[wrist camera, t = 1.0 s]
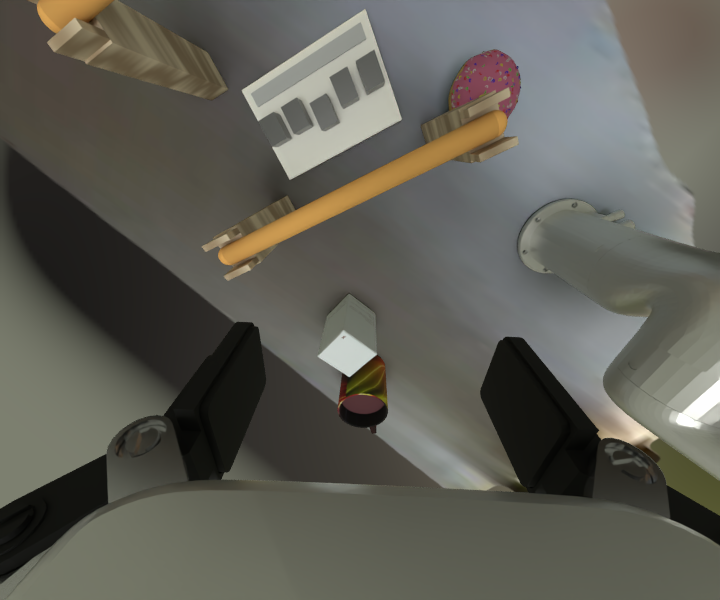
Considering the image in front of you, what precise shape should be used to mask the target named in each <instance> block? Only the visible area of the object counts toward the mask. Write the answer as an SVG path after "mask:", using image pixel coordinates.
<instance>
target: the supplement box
mask: <svg viewBox="0 0 720 600" xmlns="http://www.w3.org/2000/svg"><path fill="white" fill-rule="evenodd" d="M376 355H377V344H376V319H375V313H374V312H373V311H371V310H370V309H369V308H368V307H366V306H365V305H364V304H362V303H361V302H360V301H358V300H357V299H356V298H354V297H353V296H352V295H350V294H348V295H347V296H346V297H345V298H344V299H343V300H342V301H341V302H340V303H339V304H338V305H337V306H336V307H335V308H334V309H333V310H332V311H331V312H330V313H329V314H328V316H327V319H326V323H325V327H324V331H323V335H322V339H321V344H320V348H319V352H318V357H319V358H320V359H322V360H324V361H325V362H327V363H328V364H330V365H331V366H333V367H334V368H336V369H338V370H339V371H341V372H342V373H344V374H345V375H347V376H348V377H350V376H352V375H353V374H354V373H355V372H356V371H357V370H359V369H360V368H361V367H362V366H363V365H365V364H366V363H367V362H368V361H370V360H371V359H372V358H373V357H374V356H376Z"/></svg>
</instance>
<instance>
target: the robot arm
mask: <svg viewBox="0 0 720 600" xmlns="http://www.w3.org/2000/svg"><path fill="white" fill-rule="evenodd" d="M624 216H625V214H624V212H623V211H622V210H618V211H615V212H612V213H610V214H608V215H606V216H605V215H602V214H599V213H597V211H596V209H595V208H594V207H593V206H591V205H590V204H588V203H586V202H584V201H580V200H576V199H563V200H558V201H555V202H552V203H550V204H547V205H546V206H544V207H542V208H541V209H539V210H538V211H537V212H536V213H534V214H533V215H532V216H531V217H530V219H529V220H528V221H527V222H526V224H525V225H524V227H523V228H522V231H521V233H520V235H519V239H518V247H517V248H518V254H519V257H520V259H521V260H522V262H523V263H524V264H525V265H526V266H527V267H528V268H530V269H532V270H533V271H536V272H539V273H554V274H556V275H557V276H558V277H560V278H561V279H563V280H564V281H566V282H567V283H569V284H570V285H571V286H573V287H574V288H576V289H577V290H579V291H580V292H582V293H583V294H584V295H586V296H587V297H589V298H590V299H592V300H593V301H595V302H596V303H597V304H599V305H600V306H602V307H603V308H605V309H607V310H609V311H611V312H614V313H617V314H621V315H626V316H635V317H648V318H647V319H646V321H645V322H644V323H643V325H642V326H641V327H640V329H639V331H638V332H637V333H636V334H635V335H634V336H633V338H632V339H631V340H630V341H629V342H628V344H627V345H626V346H625V347H624V348H623V349H622V351H621V352H620V353H619V354H618V355H617V356H616V358H615V359H614V360H613V362H612V363H611V364H610V365H609V367H608V368H607V370H606V372H605V374H604V377H603V386H604V389H605V391H606V393H607V394H608V396H609V397H610V398H611V400H612V401H613V402H614V403H615V404H616V405H617V406H618V407H619V408H620V409H622V410H623V411H624V412H625V413H626V414H627V415H629V416H630V417H631V418H632V419H634V420H635V421H636V422H638V423H639V424H641V425H642V426H643V427H645V428H646V429H647V430H649V431H650V432H652V433H653V434H654V435H656V436H657V437H659V438H660V439H661V440H663V441H664V442H666V443H667V444H669V445H670V446H671V447H673V448H674V449H676V450H677V451H679V452H680V453H681V454H683V455H684V456H685V457H687V458H688V459H690V460H691V461H693V462H694V463H695V464H697V465H698V466H700V467H701V468H702V469H704V470H705V471H707V472H708V473H709V474H711V475H712V476H714V477H715V478H717V479H718V480H719V481H720V253H719V252H714V251H709V250H705V249H701V248H697V247H693V246H690V245H686V244H682V243H679V242H675V241H672V240H669V239H666V238H662V237H659V236H656V235H653V234H649V233H646V232H643V231H640V230H636V229H635V224H634V223H633V221H631V220H626V221H623V222H621V223H618V224H617V223H614V222H612V221H616V220H619V219H622V218H624ZM535 219H536V220H535ZM265 384H266V375H265V368H264V361H263V354H262V348H261V341H260V334H259V329H258V327H255V326H254V324H253V323H251V322H236V323H235V324H234V326H233V327H232V328H231V330H230V331H229V332H228V334H227V335H226V336H225V338H224V339H223V341H222V342H221V343H220V345H219V346H218V347H217V349H216V350H215V352H214V353H213V354H212V355H210V356H208V357H207V358H206V359H205V361H204V362H203V363H202V364H201V366H200V367H199V369H198V370H197V371H196V372H195V374H194V375H193V377H192V378H191V379H190V381H189V382H188V383H187V385H186V386H185V387H184V389H183V390H182V391H181V393H180V394H179V395H178V397H177V398H176V399H175V401H174V402H173V403H172V405H171V406H170V407H169V409H168V410H167V411H166V413H165V414H164V416H161V415H153V416H147V417H144V418H141V419H138V420H136V421H134V422H132V423H131V424H129V425H127V426H126V427H124V428H123V429H122V430H120V431H119V432H118V434H116V435H115V437H114V438H113V439H112V441H111V442H110V444H109V446H108V449H107V454H105V455H103V456H101V457H99V458H97V459H95V460H93V461H92V462H89V463H88V464H85V465H84V466H82V467H80V468H78V469H76V470H74V471H72V472H70V473H68V474H66V475H64V476H62V477H60V478H58V479H56V480H54V481H52V482H50V483H48V484H46V485H44V486H42V487H40V488H38V489H36V490H34V491H33V492H30V493H28V494H26V495H25V496H22V497H21V498H18V499H16V500H14V501H13V502H11V503H9V504H8V505H6V506H4V507H3V508H1V509H0V600H720V516H719V515H717V514H716V513H714V512H712V511H710V510H708V509H707V508H705V507H704V506H702V505H700V504H698V503H696V502H695V501H693V500H691V499H690V498H688V497H686V496H685V495H683V494H681V493H679V492H678V491H676V490H674V489H673V488H671V487H669V486H667V485H666V480H665V477H664V474H663V472H662V471H661V469H660V468H659V466H658V465H657V464H656V463H655V462H654V461H653V460H652V459H651V458H650V457H649V456H648V455H646V454H645V453H644V452H642V451H641V450H640V449H638V448H636V447H634V446H633V445H631V444H629V443H627V442H624V441H622V440H619V439H614V438H604V439H602V440H601V439H600V438H599V436H598V435H597V432H598V431H599V430H598V429H597V428H596V426H595V425H594V424H593V423H592V422H591V420H590V419H589V418H588V417H587V415H586V414H585V413H584V412H583V411H582V409H581V408H580V407H579V406H578V404H577V403H576V402H575V401H574V400H573V398H572V397H571V396H570V395H569V394H568V392H567V391H566V390H565V389H564V387H563V386H562V385H561V384H560V383H559V381H558V380H557V379H556V378H555V376H554V375H553V374H552V373H551V372H550V370H549V369H548V368H547V367H546V366H545V364H544V363H543V362H542V361H541V359H540V358H539V357H538V356H537V355H536V353H535V352H534V351H533V350H532V348H531V347H530V346H529V345H528V344H527V342H526V341H525V340H524V339H523V338H520V337H505V338H504V339H503V340H500V341H499V343H498V345H497V348H496V350H495V353H494V355H493V358H492V361H491V363H490V366H489V369H488V371H487V374H486V377H485V379H484V382H483V384H482V387H481V391H480V394H481V399H482V401H483V403H484V405H485V407H486V409H487V412H488V414H489V416H490V418H491V420H492V423H493V425H494V427H495V429H496V431H497V433H498V436H499V438H500V440H501V442H502V444H503V446H504V449H505V451H506V453H507V455H508V457H509V459H510V462H511V464H512V466H513V468H514V470H515V472H516V475H517V477H518V479H519V481H520V483H521V484H522V485H523V486H524V487H526V488H527V490H528V492H529V493H521V492H502V491H501V492H500V491H483V490H464V489H445V488H424V487H403V486H402V487H401V486H382V485H381V486H380V485H359V484H358V485H357V484H336V483H313V482H289V481H258V480H257V481H256V480H221V479H222V476H223V474H224V472H229V471H230V469H231V467H232V465H233V462H234V460H235V457H236V455H237V453H238V450H239V448H240V445H241V443H242V441H243V438H244V436H245V433H246V431H247V428H248V426H249V423H250V421H251V419H252V416H253V414H254V412H255V409H256V407H257V404H258V402H259V400H260V397H261V395H262V392H263V390H264V387H265Z"/></svg>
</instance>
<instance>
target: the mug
mask: <svg viewBox="0 0 720 600" xmlns="http://www.w3.org/2000/svg"><path fill="white" fill-rule="evenodd" d="M338 414H339V416H340V418H341V419H342V420H343V421H344V422H346V423H347V424H349V425H351V426H355V427H361V428H367V427H370V430H371V432H372V433H373V434H374V433H376V425H378V424H380V423H381V422H383V421H384V420H385V418H386V417H387V414H388V405H387V389H386V373H385V364H384V362H383V360H382V359H381V357H379V356H378V355H376V356H374V357H373V358H372V359H371V360H370V361H368V362H367V363H366V364H365V365H363V366H362V367H361V368H360V369H359V370H357V371H356V372H355V373H354V374H353V375H352V376H350V377H348V376H347V375H345V374H344V373H342V379H341V387H340V395H339V403H338Z"/></svg>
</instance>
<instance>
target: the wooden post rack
mask: <svg viewBox="0 0 720 600" xmlns="http://www.w3.org/2000/svg"><path fill="white" fill-rule="evenodd" d="M28 1H30V2H33V3H35V4H38V2H39V0H28ZM47 43H48V44H49V46H50V47H51V48H52V50H53V51H54V52H55V53H59V54H62V55H65V56H69V57H72V58H75V59H79V60H82V61H85V63H86V64H88V65H91V66H95V67H98V68H102V69H105V70H109V71H112V72H115V73H119V74H122V75H126V76H129V77H133V78H136V79H139V80H143V81H146V82H150V83H153V84H157V85H160V86H164V87H167V88H170V89H174V90H177V91H181V92H184V93H188V94H191V95H194V96H198V97H201V98H205V99H208V100H213V99H215V98H216V97H218V96H219V95H221V94H222V93H224V92H225V91H227V90H228V88H227V86H226V84H225V82H224V81H223V79H222V77H221V75H220V73H219V72H218V70H217V68H216V66H215V65H214V63H213V61H212V59H211V57H210V56H209V54H208V52H206V51H204V50H202V49H201V48H199V47H197V46H196V45H194V44H192V43H190V42H189V41H187V40H185V39H183V38H182V37H180V36H178V35H176V34H175V33H173V32H171V31H170V30H168V29H166V28H164V27H163V26H161V25H159V24H157V23H156V22H154V21H152V20H150V19H149V18H147V17H145V16H144V15H142V14H140V13H138V12H137V11H135V10H133V9H131V8H130V7H128V6H126V5H125V4H123V3H121V2H119V1H118V0H114V1H113V2H112V3H111V4H109V5H108V6H107V7H106V8H105V9H104V10H102V11H101V12H100V13H99V14H98V15H97V16H96V17H94V18H93V19H92V20H91V21H90V22H89V23H86V22H84V21H82V20H79V19H77V18H74V19H73V20H72V21H70V22H69V23H68V24H67V25H66V26H65V27H64V28H63V29H61V30H60V31H59V32H58V33H57V34H56V35H55V36H54V37H52V38H51V39H50V40H49V41H48V42H47ZM508 97H510V90H509V87H508V88H506V89H504V90H501V91H499V92H497V93H496V91H492V92H490V93H488V94H486V95H484V96H481V97H479V98H477V99H475V100H473V101H470V102H468V103H466V104H464V105H462V106H460V107H457V108H455V109H453V110H451V111H449V112H446V113H444V114H442V115H440V116H438V117H436V118H434V119H432V120H430V121H428V122H427V123H425V124H423V125H421V129H422V132H423V135H424V139H425V142H426V144H427V143H429V142H431V141H433V140H435V139H437V138H439V137H441V136H443V135H445V134H447V133H449V132H451V131H453V130H455V129H457V128H459V127H461V126H463V125H465V124H467V123H469V122H471V121H473V120H475V119H477V118H479V117H481V116H483V115H485V114H487V113H489V112H491V111H493V110H499V106H498V103H499V102H501V101H503V100H505V99H507V98H508ZM518 144H519V143H518V137H517V136H516V137H504V133H502V134H501V135H500V136H499V137H497V138H495V139H493V140H491V141H489V142H487V143H485V144H483V145H480V146H478V147H476V148H474V149H472V150H470V151H468V152H466V153H464V154H462V155H460V156H458V157H456V158H454V159H451V160H455V161H461V162H467V163H473V162H482V161H484V160H486V159H489V158H491V157H493V156H495V155H497V154H499V153H501V152H504V151H506V150H508V149H510V148H512V147H514V146H516V145H518ZM293 211H295V208H294V206H293V205H292V203H291V201H290V199H289V197H288V196H286V197H284V198H282V199H280V200H278V201H276V202H274V203H272V204H271V205H269V206H267V207H265V208H264V209H262V210H260V211H258V212H257V213H255V214H253V215H251V216H250V217H248V218H246V219H244V220H243V221H241V222H239V223H237V224H236V225H234V226H232V227H230V228H229V229H227V230H225V231H223V232H222V233H220V234H218V235H216V236H215V237H213V239H214V240H212V241H210V242H209V243H207V244H205V245H204V246H202V248H203V249H204V250H205V252H207V251H209V250H211V249H213V248H215V247H216V246H219V247H220V248H222V247H224V246H226V245H228V244H230V243H232V242H234V241H236V240H238V239H240V238H242V237H244V236H246V235H248V234H250V233H252V232H254V231H256V230H258V229H260V228H262V227H264V226H265V225H267V224H269V223H271V222H273V221H275V220H277V219H279V218H281V217H283V216H285V215H287V214H289V213H291V212H293ZM279 243H280V242H279ZM279 243H277V244H275V245H273V246H271V247H269V248H267V249H265V250H263V251H261V252H259V253H256V254H254V255H252V256H250V257H248V258H246V259H244V260H242V261H240V262H238V263H236V264H233V266H234V267H233V268H232V269H231V270H230V271H229V272H228V273H226V274H225V275H224V277H225V278H226V279H227V281H228V280H230V279H232V278H234V277H236V276H239V275H241V274H243V273H245V272H247V271H249V270H251V269H252V268H253V267H254V266H255V265H257V264H259V263H261V262H262V261H263V260H264V258H265V257H266V256H267V255H268V254H269V253H270V252H271V251H272V250H273V249H274V248H275V247H276V246H277V245H278V244H279Z"/></svg>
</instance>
